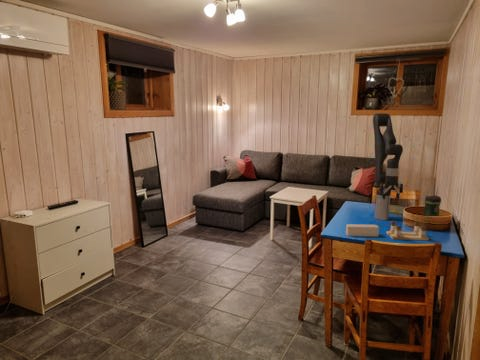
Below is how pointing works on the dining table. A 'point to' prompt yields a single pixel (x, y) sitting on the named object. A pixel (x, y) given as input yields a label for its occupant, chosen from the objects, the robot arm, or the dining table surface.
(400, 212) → the decorative tile
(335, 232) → the dining table surface
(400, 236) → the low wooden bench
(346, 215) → the dining table surface
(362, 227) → the beige long block
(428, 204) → the coffee jar
